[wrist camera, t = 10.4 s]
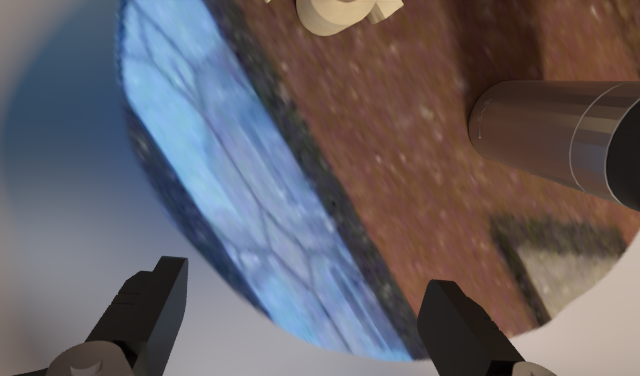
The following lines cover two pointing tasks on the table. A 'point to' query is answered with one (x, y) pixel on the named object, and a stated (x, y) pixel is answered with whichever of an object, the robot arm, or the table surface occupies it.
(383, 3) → the letter k block
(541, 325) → the table surface
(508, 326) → the table surface
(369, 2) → the candle
